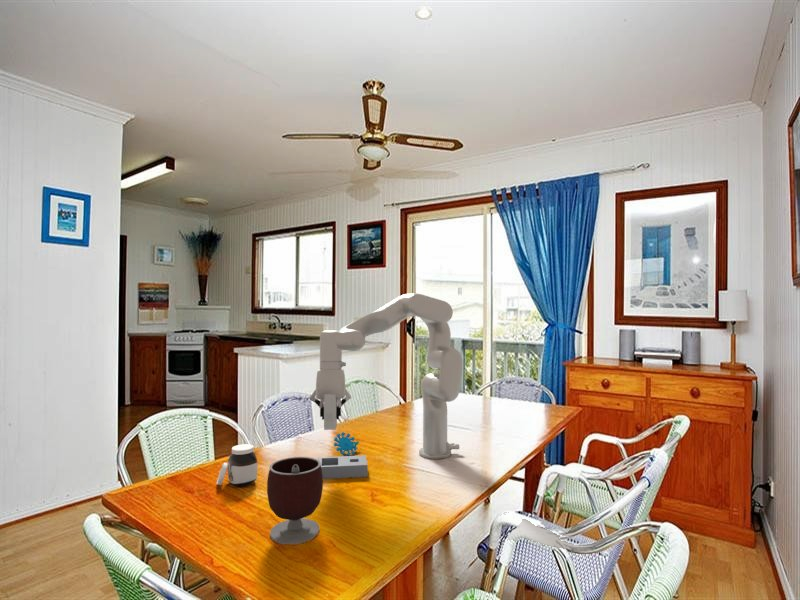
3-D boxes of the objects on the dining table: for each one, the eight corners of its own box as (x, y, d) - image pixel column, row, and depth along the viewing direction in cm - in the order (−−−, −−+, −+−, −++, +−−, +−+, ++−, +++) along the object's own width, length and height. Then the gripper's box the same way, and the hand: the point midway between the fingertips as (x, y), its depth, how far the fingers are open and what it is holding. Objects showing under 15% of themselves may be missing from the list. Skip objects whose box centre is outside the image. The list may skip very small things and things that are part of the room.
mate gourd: (268, 522, 120) (269, 447, 121) (321, 517, 123) (321, 443, 124) (264, 553, 105) (265, 467, 106) (324, 546, 108) (325, 462, 109)
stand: (365, 466, 163) (365, 455, 163) (367, 476, 153) (367, 464, 153) (317, 468, 160) (317, 457, 160) (316, 479, 150) (316, 467, 151)
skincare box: (324, 425, 159) (325, 391, 159) (337, 425, 159) (337, 391, 160) (323, 430, 153) (323, 394, 153) (336, 429, 153) (336, 394, 154)
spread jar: (260, 483, 147) (261, 448, 147) (226, 494, 138) (227, 456, 139) (243, 474, 155) (244, 440, 155) (210, 483, 147) (211, 447, 147)
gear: (337, 454, 171) (332, 431, 177) (331, 462, 174) (326, 439, 181) (363, 453, 177) (357, 431, 183) (357, 461, 180) (351, 439, 186)
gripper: (354, 364, 162) (354, 415, 161) (306, 364, 159) (306, 416, 159) (355, 366, 154) (355, 420, 154) (305, 367, 152) (305, 422, 151)
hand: (330, 417), depth 156 cm, fingers closed on skincare box, 4 cm apart
